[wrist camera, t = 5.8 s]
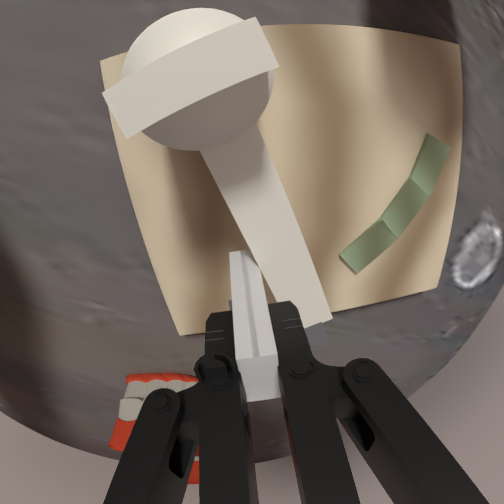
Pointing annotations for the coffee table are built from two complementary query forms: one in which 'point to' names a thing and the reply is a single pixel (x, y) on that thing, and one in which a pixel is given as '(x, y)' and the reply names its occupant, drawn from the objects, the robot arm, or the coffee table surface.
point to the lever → (222, 135)
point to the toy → (134, 400)
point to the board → (318, 171)
